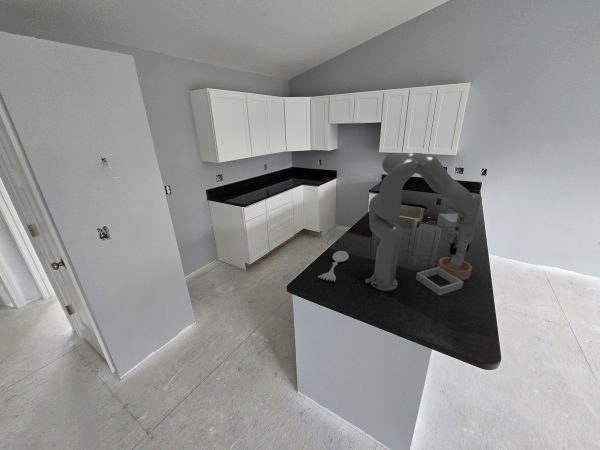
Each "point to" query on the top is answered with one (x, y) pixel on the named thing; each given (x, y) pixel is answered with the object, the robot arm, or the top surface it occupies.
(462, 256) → the syrup box
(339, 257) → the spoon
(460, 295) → the top surface
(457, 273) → the bowl
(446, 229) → the supplement box
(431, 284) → the parts tray
